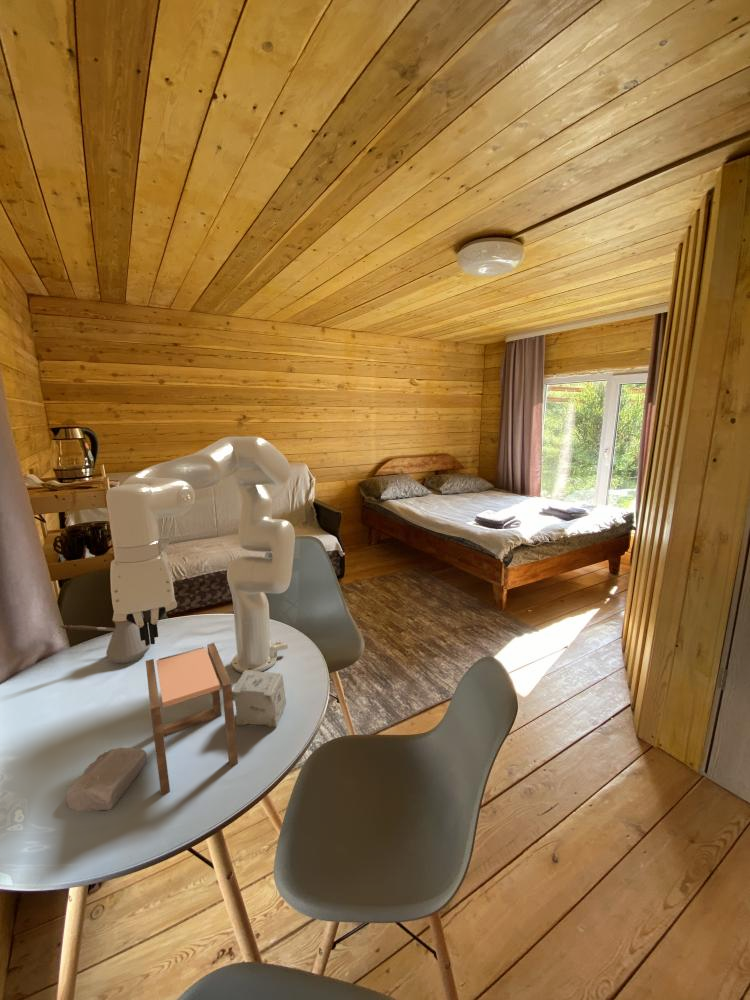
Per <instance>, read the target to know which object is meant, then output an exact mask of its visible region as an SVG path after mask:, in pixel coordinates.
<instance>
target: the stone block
mask: <svg viewBox="0 0 750 1000" xmlns="http://www.w3.org/2000/svg"><path fill="white" fill-rule="evenodd" d="M147 760H148V755H147V752H146V750H144V749H143V748H132V747H131V748H130V747H117V748H113V749H109V750H108V751H105V752H103V753H102V754H99V755H98V756H97V757H96V759H95V760H94V761H92V762H91V763H90V764H89V765H88V766H87V768H86V769H85V770H84V771H83V773H82V774H81V776H79V778H77V779H76V780H75V782H74V783H73V784H72V785H71V786H70V787H69V789H68V790H67V791H65V801H66V804H67V806H68V808H69V809H70V810H73V811H76V812H84V811H85V812H86V811H87V812H88V811H98V812H99V811H110V810H111V809H113V808H114V807H115V806H116V805H117V803H118V802H119V800H120V799H121V797H122V796H123V795H124V794H125V792H126V791H127V789H128V788H129V787H130V786H131V784H132V783H133V782H134V780H135V779H136V777H137V776H138V775H139V773H140V772H141V771H142V770H143V768H144V766H145V765H146V764H147Z"/></svg>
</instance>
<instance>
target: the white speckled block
mask: <svg viewBox="0 0 750 1000" xmlns="http://www.w3.org/2000/svg"><path fill="white" fill-rule="evenodd" d="M284 684H285V683H284V679H283V674H282V673H281V672H280V673H279V672H267V671H261V672H258V671H250V670H245V671H244V672H243V673H241V676H240V678H238V681H237V683H236V684H235V685H234V688H232V697H233V702H234V703H235V704H234V705H235V710H236V711H235V712H236V713H235V714H236V717H235V718H234V721H235V726H246V725H248V724H249V725H265V726H267V727H270V728H271V727H272V728H273V727H277V726H278V725H279V721H280V718H281V717H282V715H283V712H284V710H285V709H286V705H287V698H286V695H285V694H286V693H285V685H284Z"/></svg>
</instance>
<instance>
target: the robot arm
mask: <svg viewBox="0 0 750 1000" xmlns="http://www.w3.org/2000/svg"><path fill="white" fill-rule="evenodd" d="M290 476H291V466H290V463H289V460H288V458H287V457H286V456H285V455H284V453H282V452H281V451H279V450H278V448H276V447H275V446H274V445H273V444H272V443H270V442H269V441H267V440H266V439H265V438H262V437H260V436H226V437H223V438H220V439H218V440H216V441H214V442H213V443H211V444H209V445H208V446H206V447H204V448H201V449H200V450H199V451H196V452H194V453H192V454H188V455H185V456H181V457H178V458H174V459H172V460H167V461H164V462H160V463H157V464H154V465H151V466H149V467H146V468H144V469H142V470H140V471H138V472H137V473H135V474H133V475H131V476H129V477H128V478H127V479H126V480H124V481H123V482H122V484H121V485H116V486H112V487H110V488H109V489H108V490H107V491H106V494H105V498H106V506H107V507H106V508H107V514H108V519H109V526H110V533H111V540H112V542H111V543H112V548H113V556H114V559H113V560H111V561H110V571H109V572H110V573H109V574H110V575H109V577H110V578H109V579H110V593H111V603H112V609H113V613H112V614H113V615H112V619H113V620H114V621H125V620H128V621H129V622H131V623H133V624H135V625H137V627H139V631H140V638H141V641H143V640H145V645H146V646H148V645H149V644H150V642H151V645H154V644H155V645H156V640H155V639H156V638H159V630H158V623H159V621H160V619H161V618H162V617H163V616H164V615H165V613H167V612H169V611H172V610H174V609H176V608H177V607H178V603H177V600H176V598H175V589H174V581H173V577H172V570H171V566H170V563H169V562H170V561H169V558H168V557H167V553H166V552H164V550H166V549H169V548H170V542H169V540H166V541H165V540H162V539H160V538H161V537H160V529H159V520H160V519H166V518H173V517H179V516H182V515H184V514H186V513H188V511H190V510H191V509H192V507H193V506H194V503H195V499H196V493H195V492H196V491H201V490H205V489H210V488H213V487H215V486H217V485H219V484H220V483H221V482H222V481H224V480H225V479H227V478H228V477H231V479H232V481H233V482H234V483H235V486H236V487H237V490H238V492H239V494H240V497H241V509H240V510H241V511H240V519H239V524H238V525H239V526H238V535H237V543H238V545H239V548H240V549H242V550H244V551H246V552H255V553H267V554H268V553H269V554H271V556H272V557H263V556H253V555H252V556H250V555H243V556H238V557H236V558H235V559H233V560H231V562H230V563H229V564H228V567H227V570H226V578H227V579H226V580H227V583H228V586H229V589H230V593H231V600H232V604H233V616H234V617H233V619H234V629H235V630H234V631H235V644H236V654H235V655H234V656H233V658H232V660H231V665H232V666H231V667H232V668H233V670H234V671H236V672H238V673H241V674H243V672H244V671H245V670H250V671H258V672H265V671H266V670H268V669H269V668H271V667H273V666H274V665H275V663H276V662H277V661H278V652H279V651H283V650H284V651H285V650H287V649H288V647H289V646H288V642H287V641H284V642H281V640H276V641H272V639H271V622H270V608H269V607H270V605H269V600H268V597H267V595H266V594H282V593H284V592H286V591H287V590H288V588H289V586H290V584H291V579H292V574H293V573H292V572H293V565H294V554H295V545H296V534H295V533H296V532H295V528H294V526H293V524H292V523H291V522H290V521H288V520H287V519H282V518H279V519H278V518H272V517H273V516H272V515H273V504H274V503H273V499H272V496H271V494H270V492H269V491H268V490H267V489H266V487H265V486H275V487H277V486H283V485H285V484H286V483H287V482H288V480H289V479H290ZM147 611H150V616H149V617H148V620H147V619H146V618H145V617H144V614H143V612H147Z"/></svg>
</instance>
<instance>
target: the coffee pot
mask: <svg viewBox="0 0 750 1000" xmlns="http://www.w3.org/2000/svg"><path fill="white" fill-rule="evenodd" d="M111 620H112V623H114V624H115V625H114V627H103V626H99V627H98V626H92V625H72V624H69V625H59V629H58V634H60V633H61V632H62V629H68V630H78V631H104V632H106V631H107V632H112V634H111V637H110V639H109V643H108V646H107V648H106V657H107V658H108V659H109V660H111V661H112V662H115V663H116V664H129V663H133V662H136V661H138V660H140V659H141V658H142V657H144V656H145V654H146V653H147V652H148V651H149V649H150V647H151V645H152V644H151V642H150V644H149V645H148V646H146V645H145V640H143V641H141V638H140V631H139V627H137V625H135V624H133V623H131V622H129V621H128V620H125V621H114V620H113V618H111Z"/></svg>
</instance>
